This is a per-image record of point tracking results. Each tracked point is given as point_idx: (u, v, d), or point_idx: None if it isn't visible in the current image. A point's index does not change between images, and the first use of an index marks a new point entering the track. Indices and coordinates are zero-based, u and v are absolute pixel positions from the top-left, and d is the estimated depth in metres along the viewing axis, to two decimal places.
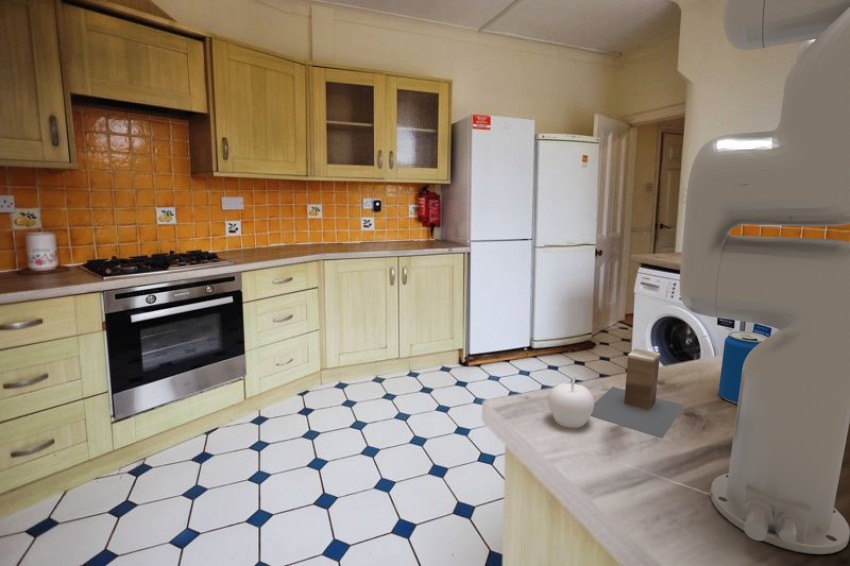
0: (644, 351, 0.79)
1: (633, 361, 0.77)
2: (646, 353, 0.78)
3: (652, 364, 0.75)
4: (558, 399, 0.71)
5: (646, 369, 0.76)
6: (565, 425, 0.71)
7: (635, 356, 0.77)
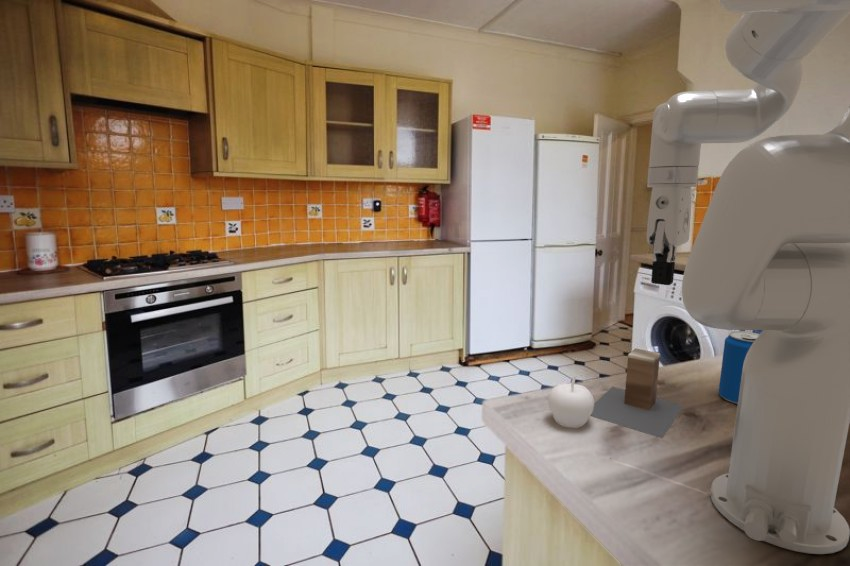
0: (644, 351, 0.79)
1: (633, 361, 0.77)
2: (646, 353, 0.78)
3: (652, 364, 0.75)
4: (558, 399, 0.71)
5: (646, 369, 0.76)
6: (565, 425, 0.71)
7: (635, 356, 0.77)
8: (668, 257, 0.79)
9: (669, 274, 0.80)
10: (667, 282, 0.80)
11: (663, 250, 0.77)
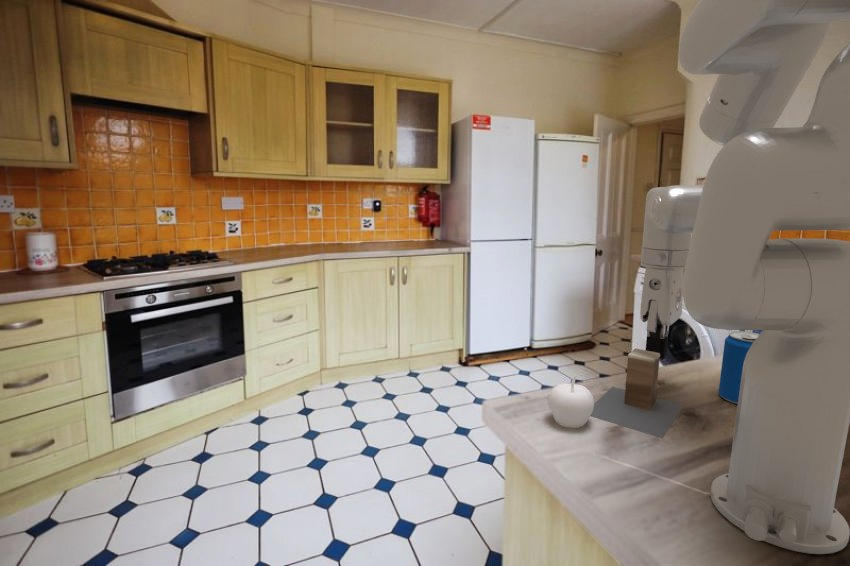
0: (644, 351, 0.79)
1: (633, 361, 0.77)
2: (646, 353, 0.78)
3: (652, 364, 0.75)
4: (558, 399, 0.71)
5: (646, 369, 0.76)
6: (565, 425, 0.71)
7: (635, 356, 0.77)
8: (661, 334, 0.81)
9: (662, 349, 0.82)
10: (660, 357, 0.83)
11: (656, 328, 0.80)
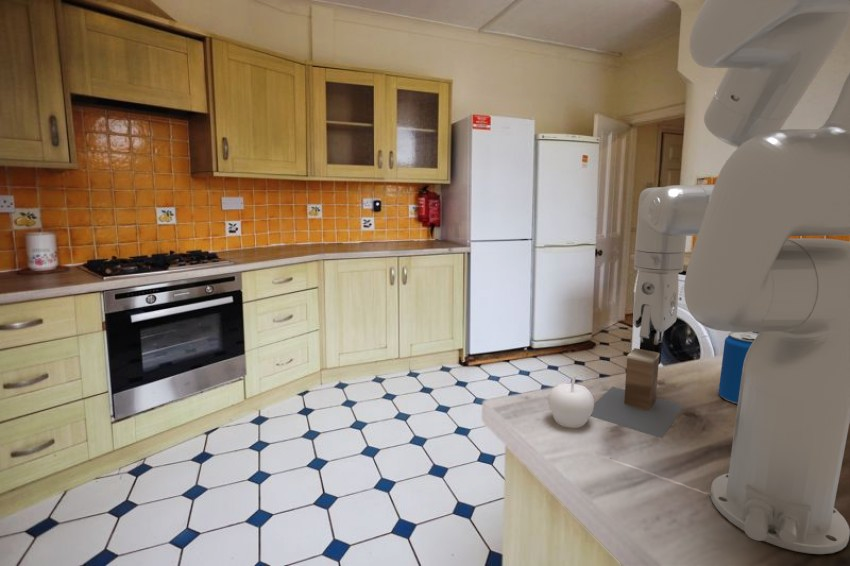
0: (643, 351, 0.78)
1: (632, 362, 0.77)
2: (645, 353, 0.77)
3: (651, 365, 0.75)
4: (558, 399, 0.71)
5: (645, 370, 0.76)
6: (565, 425, 0.71)
7: (634, 357, 0.76)
8: (655, 340, 0.78)
9: None
10: None
11: (649, 334, 0.77)
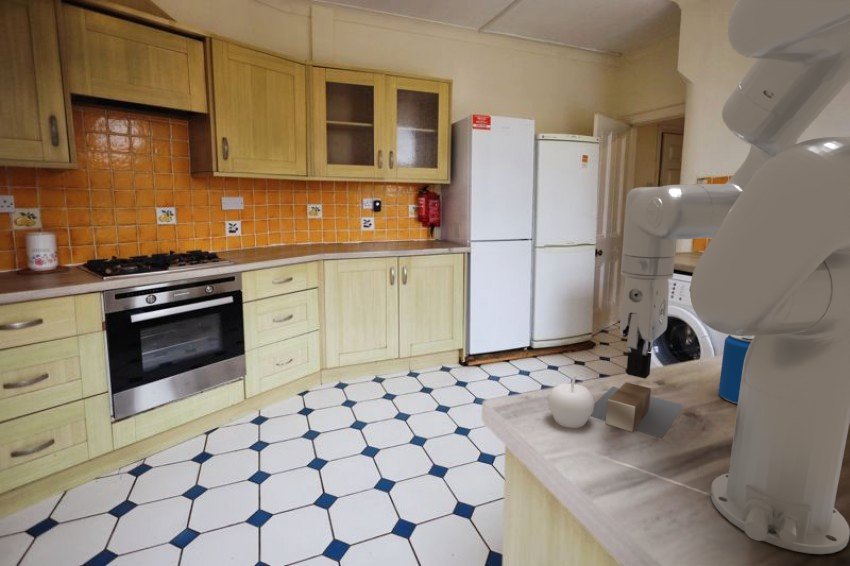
0: (618, 407, 0.71)
1: None
2: (621, 414, 0.71)
3: None
4: (558, 399, 0.71)
5: None
6: (565, 425, 0.71)
7: (613, 425, 0.72)
8: (643, 350, 0.73)
9: (645, 367, 0.74)
10: (643, 375, 0.75)
11: (637, 344, 0.71)
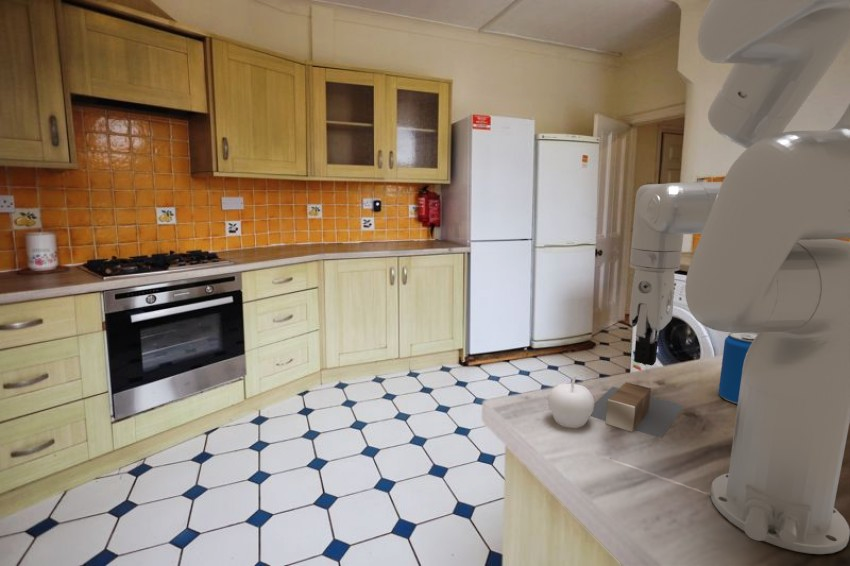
0: (618, 407, 0.71)
1: None
2: (621, 414, 0.71)
3: None
4: (558, 399, 0.71)
5: None
6: (565, 425, 0.71)
7: (613, 425, 0.72)
8: (651, 339, 0.77)
9: (652, 354, 0.78)
10: (650, 362, 0.79)
11: (645, 333, 0.76)
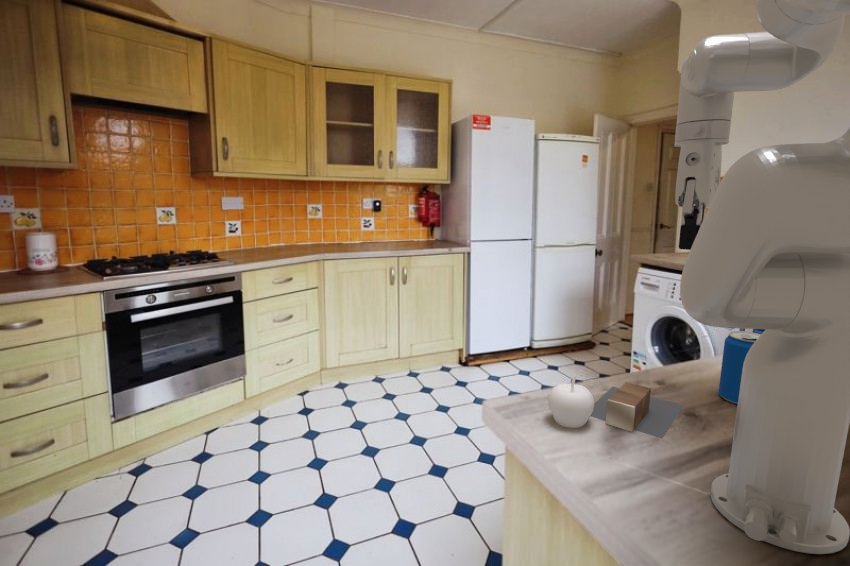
0: (618, 407, 0.71)
1: None
2: (621, 414, 0.71)
3: None
4: (558, 399, 0.71)
5: None
6: (565, 425, 0.71)
7: (613, 425, 0.72)
8: (698, 219, 0.74)
9: None
10: None
11: (693, 211, 0.72)
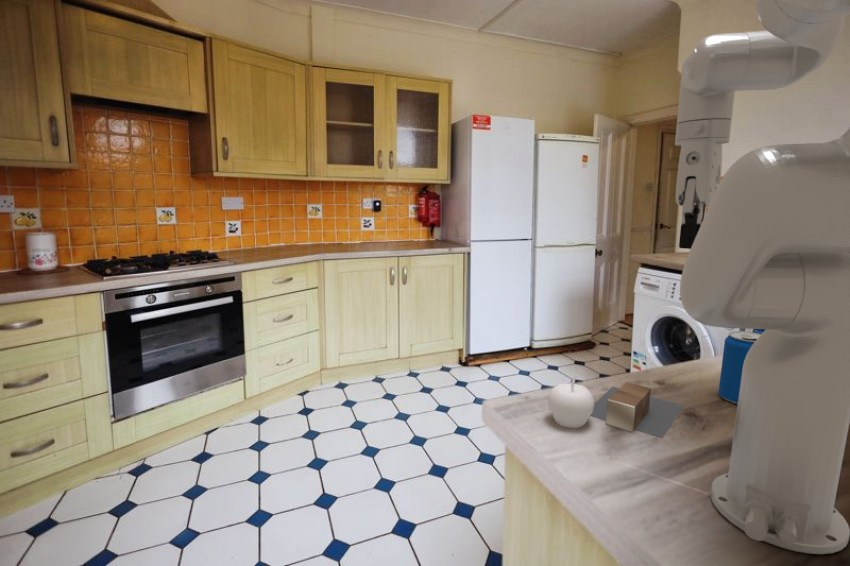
0: (618, 407, 0.71)
1: None
2: (621, 414, 0.71)
3: None
4: (558, 399, 0.71)
5: None
6: (565, 425, 0.71)
7: (613, 425, 0.72)
8: (698, 218, 0.74)
9: None
10: None
11: (693, 210, 0.72)
